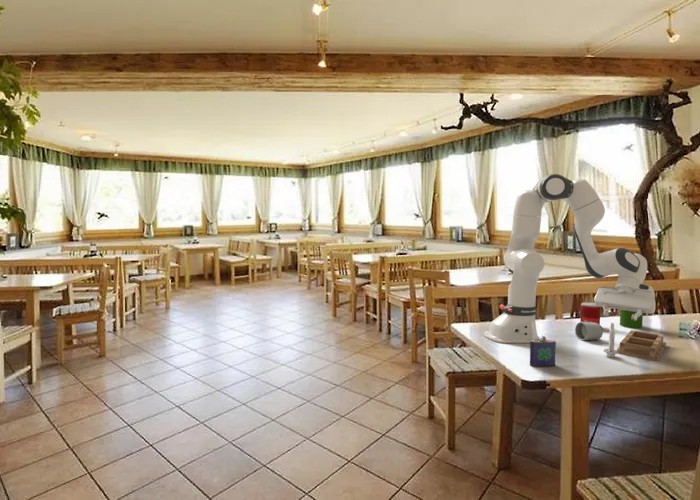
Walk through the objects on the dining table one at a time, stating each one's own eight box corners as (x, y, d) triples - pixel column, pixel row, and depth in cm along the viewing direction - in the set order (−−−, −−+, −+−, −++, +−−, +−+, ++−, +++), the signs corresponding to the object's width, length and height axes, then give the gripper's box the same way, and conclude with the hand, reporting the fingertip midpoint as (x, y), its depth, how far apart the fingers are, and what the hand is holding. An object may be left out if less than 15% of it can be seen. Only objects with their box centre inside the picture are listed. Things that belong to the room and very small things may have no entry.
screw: (612, 359, 152) (600, 355, 157) (621, 357, 154) (609, 353, 158) (614, 325, 151) (601, 321, 156) (623, 323, 153) (611, 320, 157)
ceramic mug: (604, 341, 174) (604, 323, 173) (586, 342, 173) (587, 324, 172) (586, 334, 184) (586, 317, 184) (569, 335, 183) (570, 318, 183)
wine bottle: (641, 329, 192) (645, 260, 189) (618, 326, 197) (622, 258, 194) (642, 325, 199) (646, 258, 196) (620, 322, 204) (623, 257, 201)
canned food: (603, 328, 193) (604, 305, 192) (585, 328, 193) (586, 305, 192) (593, 324, 201) (594, 302, 200) (577, 324, 201) (578, 302, 200)
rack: (657, 360, 151) (658, 349, 150) (616, 352, 159) (616, 342, 159) (666, 345, 168) (666, 335, 168) (628, 339, 177) (628, 329, 177)
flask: (552, 363, 148) (553, 334, 147) (557, 366, 145) (558, 336, 144) (528, 364, 148) (529, 335, 147) (532, 367, 145) (533, 337, 144)
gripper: (597, 281, 171) (588, 308, 166) (657, 287, 156) (649, 317, 151) (600, 290, 175) (591, 317, 169) (659, 297, 160) (651, 326, 154)
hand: (619, 317), depth 160 cm, fingers open, 8 cm apart
